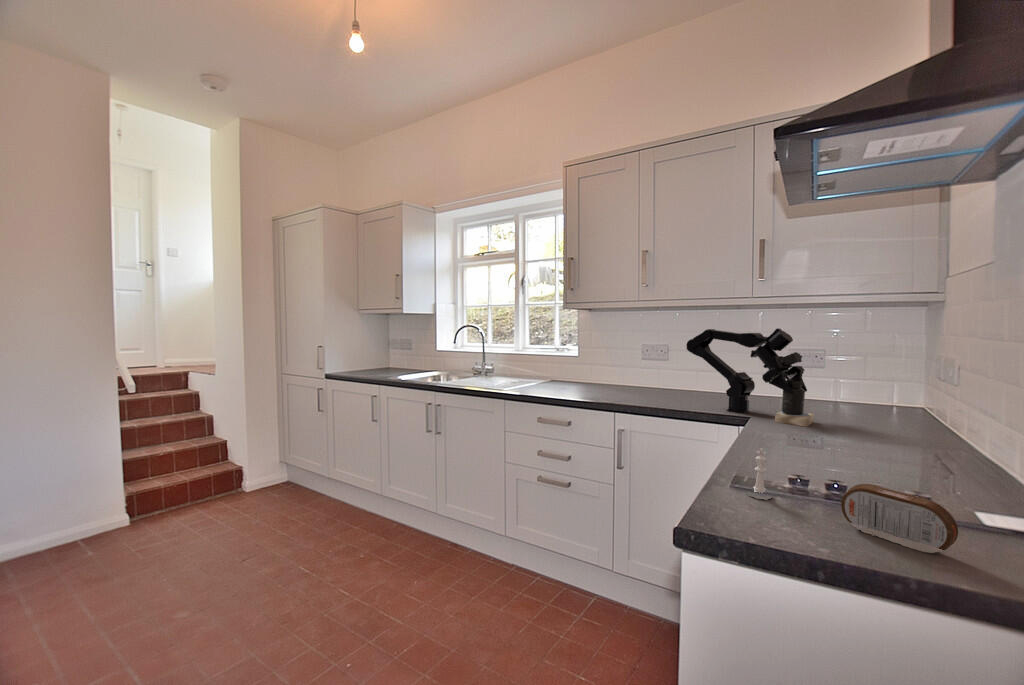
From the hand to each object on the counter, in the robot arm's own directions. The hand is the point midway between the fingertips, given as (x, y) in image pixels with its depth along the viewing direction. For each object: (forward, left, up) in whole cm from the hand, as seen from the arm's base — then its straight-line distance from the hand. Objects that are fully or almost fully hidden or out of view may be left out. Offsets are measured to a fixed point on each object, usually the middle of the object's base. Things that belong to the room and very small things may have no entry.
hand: (799, 392), depth 164 cm
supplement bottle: (-2, -1, -8) cm, 8 cm away
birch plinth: (-1, 0, -11) cm, 11 cm away
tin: (+34, -91, -11) cm, 97 cm away
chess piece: (+12, -86, -11) cm, 87 cm away
